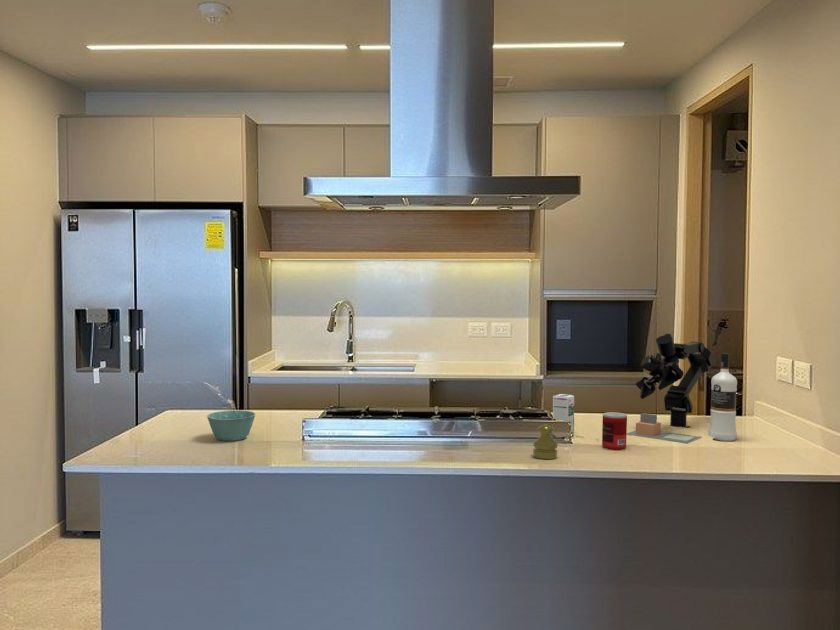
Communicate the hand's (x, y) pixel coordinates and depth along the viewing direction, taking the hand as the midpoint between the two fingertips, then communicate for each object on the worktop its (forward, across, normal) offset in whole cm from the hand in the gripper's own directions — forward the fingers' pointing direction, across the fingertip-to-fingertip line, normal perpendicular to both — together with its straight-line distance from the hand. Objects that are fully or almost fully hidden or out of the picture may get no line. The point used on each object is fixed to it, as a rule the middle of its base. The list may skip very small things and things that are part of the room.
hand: (650, 393), depth 259 cm
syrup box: (+25, -20, -10) cm, 34 cm away
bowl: (+96, -60, -90) cm, 145 cm away
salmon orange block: (+6, -8, +10) cm, 15 cm away
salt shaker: (+51, -1, -17) cm, 54 cm away
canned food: (+28, -2, 0) cm, 28 cm away
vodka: (-6, +4, +29) cm, 30 cm away
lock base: (+6, -4, +14) cm, 16 cm away
